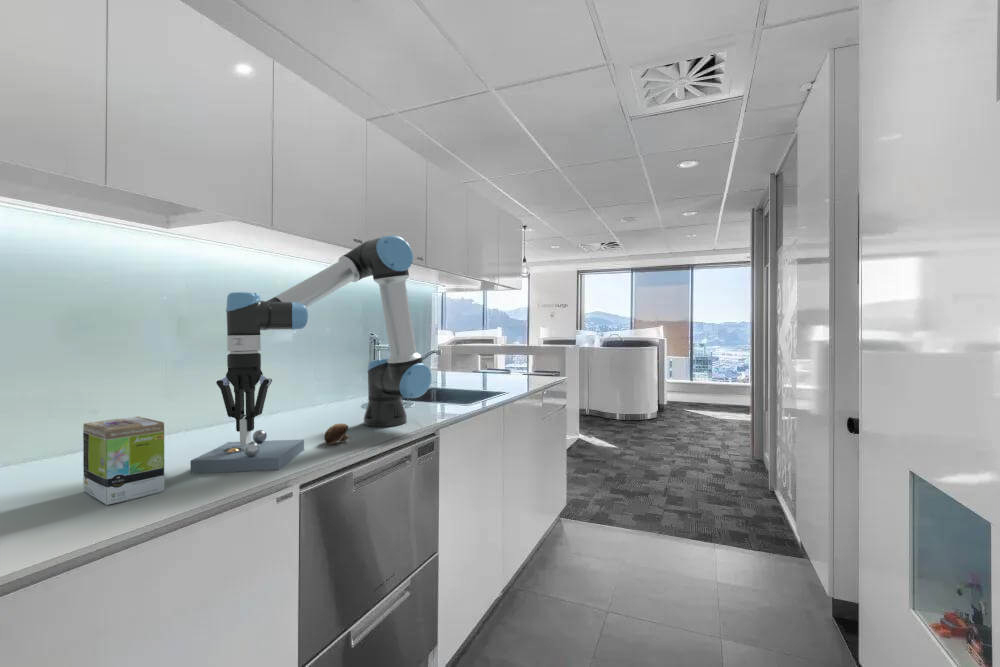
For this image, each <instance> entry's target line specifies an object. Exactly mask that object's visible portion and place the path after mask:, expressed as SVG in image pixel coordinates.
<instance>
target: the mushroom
mask: <svg viewBox="0 0 1000 667" xmlns="http://www.w3.org/2000/svg"><path fill="white" fill-rule="evenodd" d="M348 430H349V426H348V424H346V423H335V424H333V425H332V426H330V427H329V428H328V429H327V430H326V431H325V433H324V436H323V437H324V438H323V439H324V442H325V443H326V445H333V444H336V442H338V443H341V444H342V443H344V442H346V441H347V440H348V439H349V438H350V436H349V435H347V434H346V433H347V432H348Z"/></svg>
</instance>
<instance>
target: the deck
mask: <svg viewBox="0 0 1000 667" xmlns="http://www.w3.org/2000/svg"><path fill="white" fill-rule="evenodd" d="M251 442H255V441H254V440H251ZM255 443H257V442H255ZM257 444H258V445H259V447H260V450H259V452H258V454H257V455H255V456H252V457H250V456H247V455H246V454H245V453H244V447H245V446H246V445H240V441H228V442H226V443H224V444H222V445H220V446H218V447H216V448H214V449H211V450H210V451H208V452H207V451H206V453H203V454H202V455H200V456H197V457H195V458H192V459H191V460H190V461H189V462H190V463H189V464H190V474H208V473H209V474H210V473H235V472H237V473H238V472H258V471H259V472H260V471H279V470H280V469H282V468H283V467H284V466H286V465H287V464H288V463H290V462H291V461H292V460H294V459H295V458H297V456H299V455H300V454H301V453H303V451H305V439H280V440H279V439H278V440H265V441H263V442H261V443H257ZM232 448H237V449H239V451H234V452H227V451H228V450H230V449H232Z"/></svg>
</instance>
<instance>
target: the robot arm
mask: <svg viewBox="0 0 1000 667" xmlns="http://www.w3.org/2000/svg"><path fill="white" fill-rule="evenodd" d="M413 262H414V253H413V250H412V248H411V245H410V244H409V243H408V241H406V240H404V238H402V237H401V236H398V235H385V236H381V237H379V238H376V239H371V240H368V241H365V242H363V243H360V244H359V245H358V246H356V247H354V248H353V249H352V250H350V251H349V252H346V253H345V254H344V255H342V256H340V257H338V261H337V262H336V263H334V264H332V265H330V266H328V267H326V268H324V269H323V270H321V271H319V272H317V273H315V274H314V275H312V276H309V277H308V278H306V279H303V280H302V281H300V282H299V283H297V284H295V285H293V286H291V287H290V288H288V289H286V290H284V291H282V292H281V293H279V294H276V295H275V296H274V297H272V298H270V299H268V300H266V301H264V300H262V299H261V295H260V294H259V293H256V292H248V291H246V292H243V291H241V292H240V291H238V292H237V291H236V292H230V293H229V294H227V298H226V310H225V312H226V332H227V333H226V334H227V336H226V341H227V342H226V344H227V346H226V348H227V350H226V351H227V352H229V353H228V354H227V355H226V356H227V358H226V361H227V362H226V363H227V366H226V367H227V372H226V374H225V377H223V378H222V379H218V380H217V381H216V385H217V386H218V388H219V389H220V391H221V395H222V400H223V403H224V408H225V410H226V414H227V417H228V418H233V419H235V431H236V432H238V433H239V442H240V445H247V444H248V443H250V442H251V441H252V433H251V432H252V431H254V430H255V419H256V417H258V416H260V415H262V413H263V410H264V407H265V401H266V399H267V398H266V397H267V393H268V389H269V386H270V385H271V384H272V382H273V379H272V378H267V377H266V376H264V375H263V371H262V369H261V367H262V355H261V353H260V352H259V351H261V350H262V347H261V345H262V344H261V341H262V340H261V331H269V330H274V331H275V330H277V331H278V330H292V331H293V330H302V329H305V327H306V326H307V324H308V318H309V315H308V308H309V307H310V306H312V305H313V304H315V303H317V302H318V301H320V300H322V299H324V298H325V297H327V296H329V295H331V294H333V293H334V292H335V291H338V290H339V289H341V288H343V287H344V286H346V285H348V284H350V283H351V282H352V283H357V282H358V281H361V280H362V279H364V278H368V277H371V276H372V278H373V281H374V282H375V283H377V285H378V286H379V291H380V297H381V304H382V311H383V315H384V322H385V328H386V334H387V340H388V345H389V354H390V356H389V357H388V358H380V359H379V358H378V359H373V360H370V361H369V362H368V366H367V379H368V381H367V382H368V383H367V384H368V387H367V388H368V394H367V395H368V403H367V406H366V409H365V413H364V416H363V425H364V426H367V427H374V428H375V427H376V428H377V427H378V428H379V427H381V428H382V427H384V428H385V427H394V426H398V425H403V424H405V423H407V422H408V420H407V419H408V418H407V417H408V416H407V412H406V410H405V407H404V404H403V400H402V398H406V399H417V398H420V397H421V396H423V395H425V393H427V392H428V389H430V387H431V384H432V372H431V370H430V368H429V367H428V366H427V365H426V364H424V363H423V358H422V357H423V356H422V355H421V354H420V353H419V352H418V351H417V347H416V342H415V340H416V339H415V335H414V327H413V321H412V316H411V309H410V308H411V307H410V303H409V296H408V289H407V284H406V281H407V280H408V278H410V273H409V268H411V266H412V264H413ZM258 383H259V385H260V386H259V387H258V393H257V395H256V398H255V394H256V393H255V391H256V386H257V385H258ZM230 385H231V386H232V387H233V392H234V396H233V392H232V389H231V386H230ZM255 399H256V400H255Z"/></svg>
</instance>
